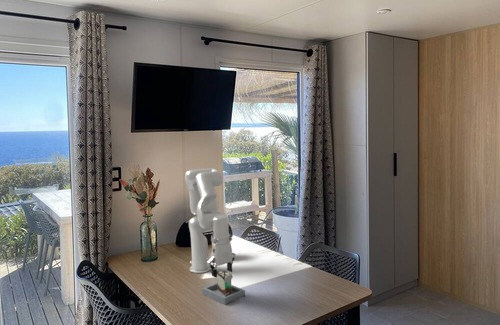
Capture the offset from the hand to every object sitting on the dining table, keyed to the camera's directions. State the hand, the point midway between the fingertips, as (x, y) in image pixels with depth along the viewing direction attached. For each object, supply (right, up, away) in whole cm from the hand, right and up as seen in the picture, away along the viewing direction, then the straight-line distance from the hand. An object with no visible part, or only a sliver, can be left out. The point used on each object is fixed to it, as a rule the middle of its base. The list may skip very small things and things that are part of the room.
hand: (222, 273), depth 203 cm
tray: (+1, -11, 0) cm, 11 cm away
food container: (+2, -10, +2) cm, 10 cm away
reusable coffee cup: (-4, -6, +56) cm, 56 cm away
